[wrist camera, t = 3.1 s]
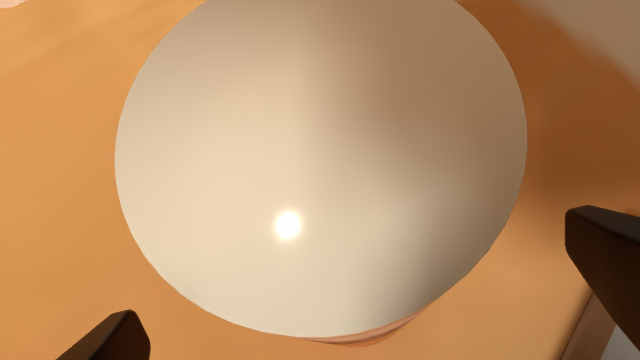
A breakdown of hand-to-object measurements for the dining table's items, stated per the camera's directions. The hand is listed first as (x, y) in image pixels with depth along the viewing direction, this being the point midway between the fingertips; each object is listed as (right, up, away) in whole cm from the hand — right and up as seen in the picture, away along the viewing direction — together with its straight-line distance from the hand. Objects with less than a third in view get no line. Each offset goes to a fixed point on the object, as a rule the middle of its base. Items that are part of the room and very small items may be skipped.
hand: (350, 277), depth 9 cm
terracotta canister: (+1, -2, +9) cm, 9 cm away
